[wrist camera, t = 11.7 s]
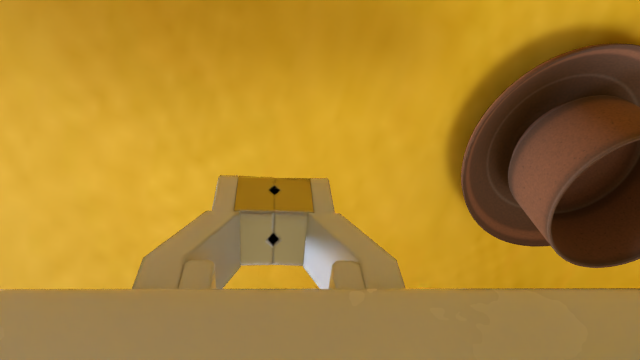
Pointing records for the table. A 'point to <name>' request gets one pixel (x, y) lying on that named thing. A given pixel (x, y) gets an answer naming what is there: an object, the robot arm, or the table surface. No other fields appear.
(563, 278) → the table surface
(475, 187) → the cup and saucer
